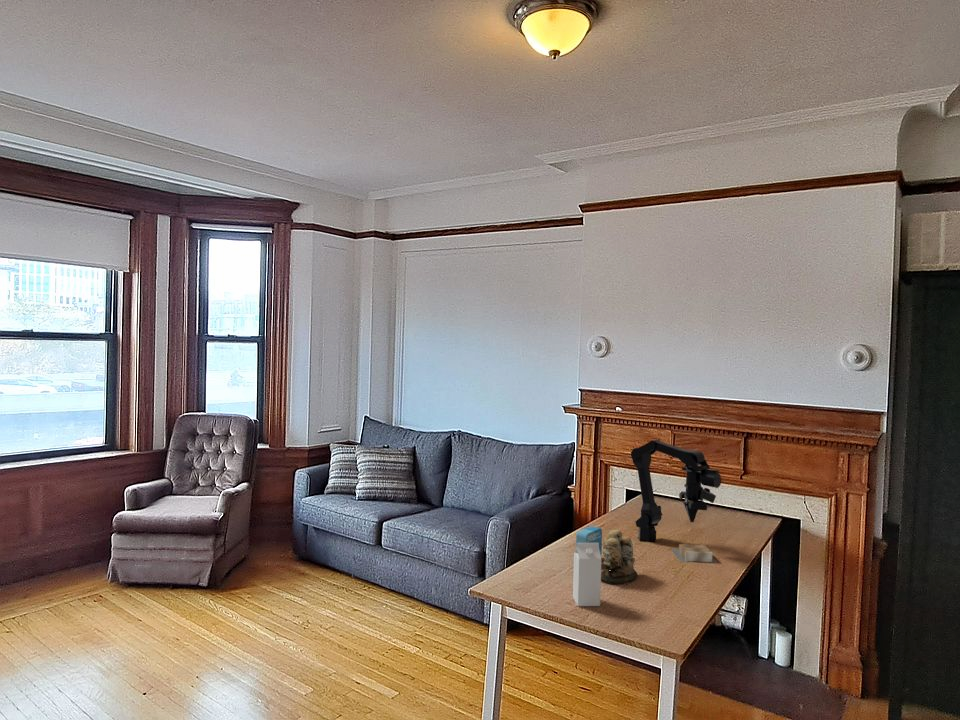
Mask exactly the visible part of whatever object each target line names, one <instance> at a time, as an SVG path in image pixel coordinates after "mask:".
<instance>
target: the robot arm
mask: <svg viewBox="0 0 960 720" xmlns="http://www.w3.org/2000/svg"><path fill="white" fill-rule="evenodd" d="M657 452H658V453H662V454H665V455H667V456H670V457H673V458H676V459H678V460H679V461H680V462H681V463H683V464H684V466H683V467H681V470H682V471H685V473H686V474H685V483H684V488H685V491H681V492H679V493H678V498H679V499H680V500H682V501H683V499H684V501H683V502H682V504H683V507H684V509H685V510H686V514H687V516H688V519H689V522H690V523H694V522H695V519H696V515H697V514H698V511H707V510H708V504H707V503H706V502H705V501H708V502H709V503H711V504H714V502H715V501H716V498H717V495H715V494H714V493H713V492H711V489H710V488H711V487H712V488H716V489H718V488H719V487H720V486H721V484H722V476H721V474H720V473H719V472H720V471H719V470H718V469H711V468H710V466H709V464H708V461H707V460H706V459H705V455H704V453H703V452H702V451H700V450H694V449H684V448H682V447H678V446H675V445H674V444H673V445H672V444H670V443H666V442H664V441H661V440H660V439H651V440H650V441H648V442H647V443H645V444H643V445H641V446H639V447H634V448H633V449H632V450H631V452H630V457H631V460H632V463H633V465H634V466H635V468H636V470H637V475H638V480H639V481H638V482H639V486H640V487H639V488H640V493H641V494H640V495H641V499H642V506H641V509H640V517H638V519H637V520H636V521H635V527H637V528H638V534H637V535H638V537H637V539H638V540H639V542H641V543H642V542H643V543H656V541H657V530H656V527H657V526H658V525H659V523H660V521H661V520H662V516H663V513H662V506H661V505H658V504H657V503H656V500H655V495H654V488H653V483H652V478H651V477H652V475H651V469H650V466H651V463H652V455H654V454H656V453H657ZM702 485H703V486H706V487H703V486H702ZM708 487H710V488H708Z"/></svg>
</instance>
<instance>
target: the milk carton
mask: <svg viewBox="0 0 960 720" xmlns="http://www.w3.org/2000/svg"><path fill="white" fill-rule="evenodd" d="M601 572H602V554H600V550H599V543H577V547H576V546H575V549H574V551H573V575H572V576H573V578H572V579H573V580H572V581H573V583H572V598H573V600H574V601H575V604H576V606H577V607H601V592H602V591H601V586H602V585H601V584H602V581H601Z"/></svg>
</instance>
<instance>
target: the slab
mask: <svg viewBox="0 0 960 720" xmlns="http://www.w3.org/2000/svg"><path fill="white" fill-rule="evenodd" d="M678 549H679V554H680V555H681V556H682V557H683V558H684V560H685V561H702V562H701V563H705V562H712V557H713V552H712V550H710V549H709V547H707V546H706V545H705V544H683V543H682V544H681V543H680V544H679V543H678Z"/></svg>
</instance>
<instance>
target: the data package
mask: <svg viewBox="0 0 960 720" xmlns="http://www.w3.org/2000/svg"><path fill="white" fill-rule="evenodd" d="M602 542H603V529H602V528H600V527H596V526H592V525H591V526H588V527H585V528H583V529H580V530H578V531H577V532H576V537H575V548H576V547H577V543H599V550H600V554H601V555H602V554H603V543H602Z"/></svg>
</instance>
